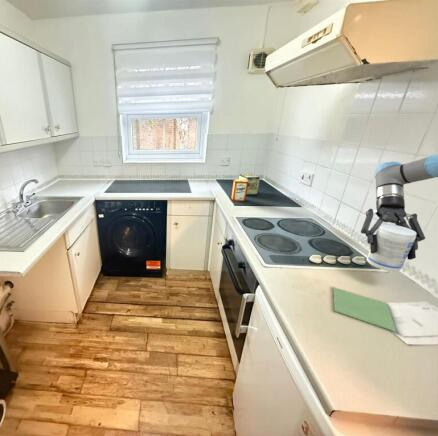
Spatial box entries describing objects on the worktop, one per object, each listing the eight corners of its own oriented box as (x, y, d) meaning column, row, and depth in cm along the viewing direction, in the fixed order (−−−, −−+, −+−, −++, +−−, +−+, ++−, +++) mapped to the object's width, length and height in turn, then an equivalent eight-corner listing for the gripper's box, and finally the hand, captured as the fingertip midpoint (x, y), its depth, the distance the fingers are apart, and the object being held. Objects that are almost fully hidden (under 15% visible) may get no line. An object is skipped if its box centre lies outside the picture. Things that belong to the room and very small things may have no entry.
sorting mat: (386, 304, 82) (387, 303, 82) (395, 332, 72) (396, 331, 72) (333, 288, 90) (333, 287, 90) (334, 311, 80) (335, 310, 79)
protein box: (245, 196, 197) (248, 177, 191) (236, 190, 212) (239, 173, 205) (257, 195, 198) (260, 177, 192) (248, 190, 212) (250, 173, 206)
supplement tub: (404, 275, 82) (423, 237, 76) (369, 268, 86) (384, 231, 81) (394, 261, 90) (411, 226, 84) (362, 255, 94) (376, 221, 88)
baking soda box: (243, 198, 190) (246, 179, 184) (245, 201, 184) (248, 181, 178) (231, 198, 192) (233, 178, 185) (232, 200, 186) (235, 180, 179)
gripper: (422, 207, 89) (427, 265, 82) (349, 200, 98) (348, 251, 91) (437, 198, 83) (444, 259, 76) (358, 191, 91) (357, 245, 84)
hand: (392, 255), depth 83 cm, fingers closed on supplement tub, 9 cm apart
